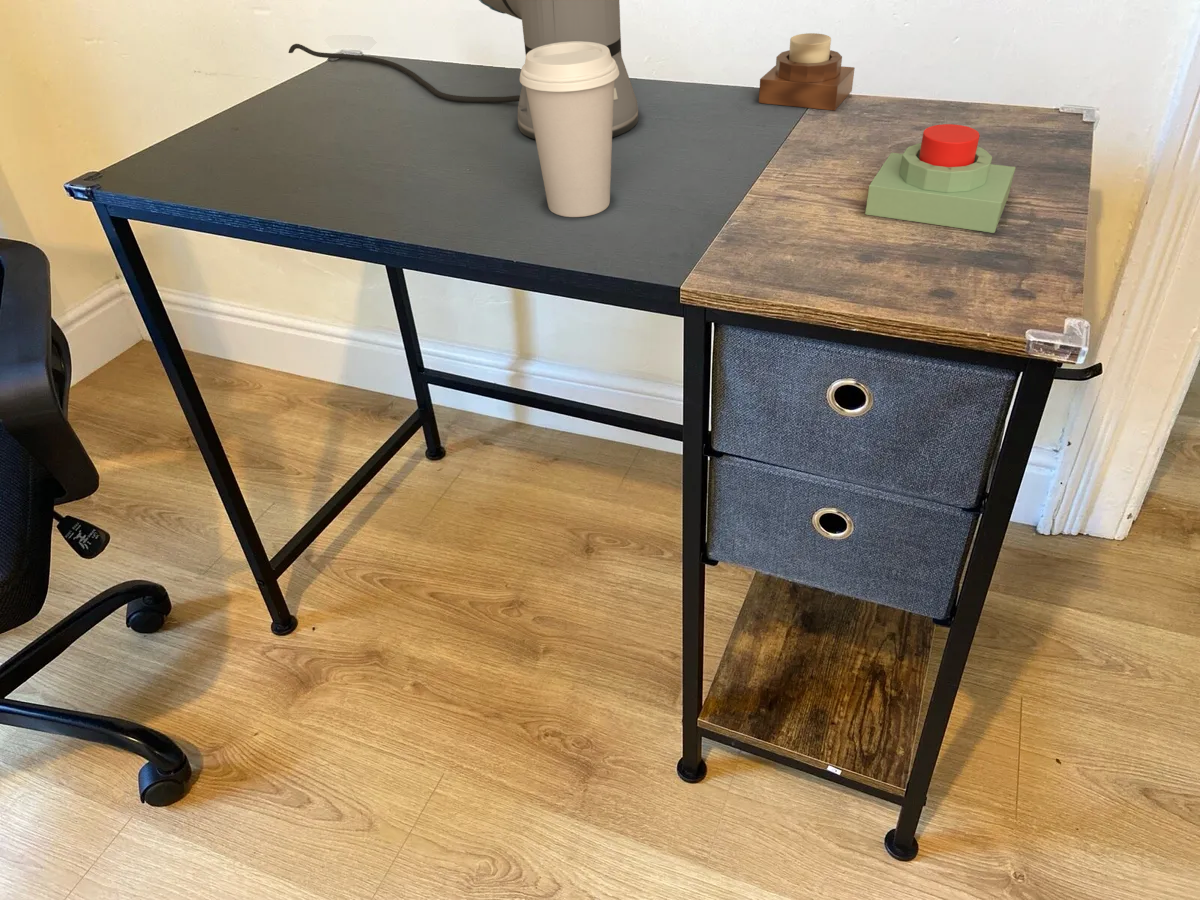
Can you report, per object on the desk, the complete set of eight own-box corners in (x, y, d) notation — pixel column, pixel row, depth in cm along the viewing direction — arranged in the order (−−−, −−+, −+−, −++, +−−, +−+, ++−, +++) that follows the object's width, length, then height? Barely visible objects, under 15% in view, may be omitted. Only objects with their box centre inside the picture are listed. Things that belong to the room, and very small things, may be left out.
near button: (913, 165, 83) (918, 139, 82) (924, 147, 87) (929, 121, 85) (969, 172, 81) (974, 145, 80) (978, 153, 85) (983, 127, 83)
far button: (783, 64, 111) (785, 42, 109) (795, 53, 114) (797, 32, 112) (822, 67, 109) (824, 45, 107) (833, 55, 112) (835, 34, 110)
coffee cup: (627, 185, 95) (622, 37, 86) (620, 223, 88) (613, 66, 78) (541, 186, 96) (526, 40, 87) (526, 224, 89) (508, 69, 79)
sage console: (864, 214, 86) (871, 164, 83) (886, 180, 92) (894, 132, 89) (994, 233, 81) (1007, 181, 78) (1008, 196, 87) (1020, 146, 84)
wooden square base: (758, 103, 113) (760, 62, 110) (778, 84, 119) (781, 45, 116) (834, 110, 110) (839, 68, 106) (851, 91, 115) (856, 50, 112)
